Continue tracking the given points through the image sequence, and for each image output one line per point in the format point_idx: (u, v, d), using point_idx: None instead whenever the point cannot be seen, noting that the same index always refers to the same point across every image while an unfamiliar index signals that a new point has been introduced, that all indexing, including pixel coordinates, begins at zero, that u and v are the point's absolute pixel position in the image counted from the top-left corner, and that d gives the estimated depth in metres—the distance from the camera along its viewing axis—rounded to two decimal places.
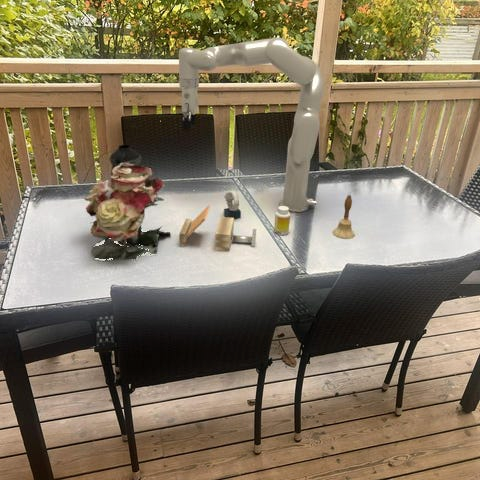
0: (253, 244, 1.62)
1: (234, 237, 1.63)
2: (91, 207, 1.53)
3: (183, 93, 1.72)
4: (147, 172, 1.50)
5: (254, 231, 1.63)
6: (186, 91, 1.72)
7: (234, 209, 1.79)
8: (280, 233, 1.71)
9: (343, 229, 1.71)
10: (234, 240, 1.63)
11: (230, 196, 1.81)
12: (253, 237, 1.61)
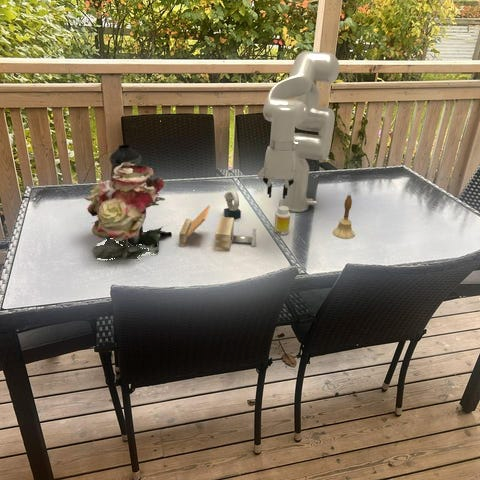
0: (253, 244, 1.62)
1: (234, 237, 1.63)
2: (92, 207, 1.53)
3: (294, 156, 1.46)
4: (148, 172, 1.51)
5: (254, 231, 1.63)
6: (295, 152, 1.47)
7: (234, 209, 1.79)
8: (280, 233, 1.71)
9: (343, 229, 1.71)
10: (234, 240, 1.63)
11: (230, 196, 1.81)
12: (253, 237, 1.61)
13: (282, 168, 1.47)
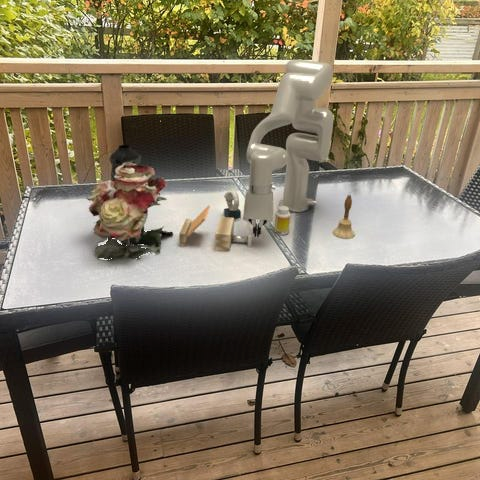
0: (249, 244, 1.62)
1: None
2: (94, 207, 1.53)
3: (272, 199, 1.54)
4: (150, 172, 1.51)
5: (250, 231, 1.63)
6: (272, 195, 1.55)
7: (234, 209, 1.79)
8: (280, 233, 1.71)
9: (343, 229, 1.71)
10: None
11: (230, 196, 1.81)
12: (249, 237, 1.61)
13: (261, 210, 1.55)
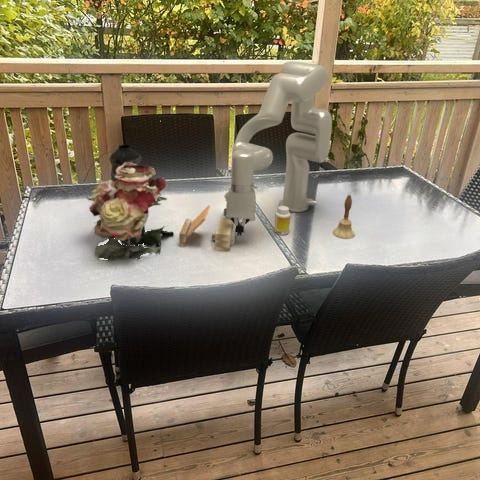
0: (232, 242, 1.63)
1: (213, 235, 1.64)
2: (94, 207, 1.53)
3: (254, 197, 1.54)
4: (150, 172, 1.51)
5: (233, 229, 1.63)
6: (254, 194, 1.55)
7: None
8: (280, 233, 1.71)
9: (343, 229, 1.71)
10: (213, 238, 1.64)
11: None
12: (232, 235, 1.61)
13: (243, 208, 1.56)
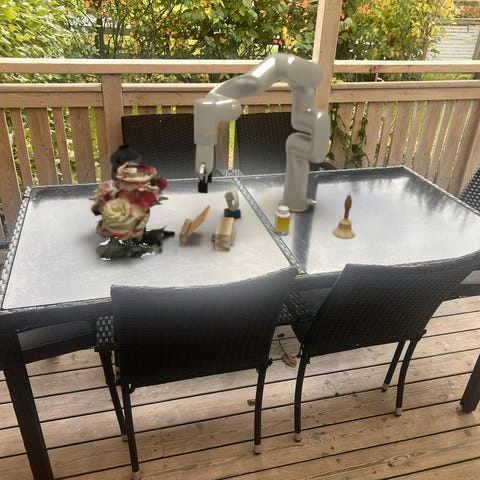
0: (232, 242, 1.63)
1: (213, 235, 1.64)
2: (96, 207, 1.53)
3: None
4: (152, 171, 1.51)
5: (233, 229, 1.63)
6: None
7: (234, 209, 1.79)
8: (280, 233, 1.71)
9: (343, 229, 1.71)
10: (213, 238, 1.64)
11: (230, 196, 1.81)
12: (232, 235, 1.61)
13: None
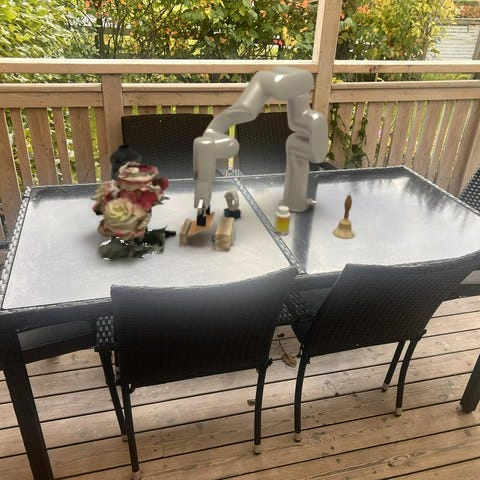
0: (232, 242, 1.63)
1: (213, 235, 1.64)
2: (97, 207, 1.53)
3: None
4: (153, 171, 1.51)
5: (233, 229, 1.63)
6: None
7: (234, 209, 1.79)
8: (280, 233, 1.71)
9: (343, 229, 1.71)
10: (213, 238, 1.64)
11: (230, 196, 1.81)
12: (232, 235, 1.61)
13: (211, 193, 1.58)
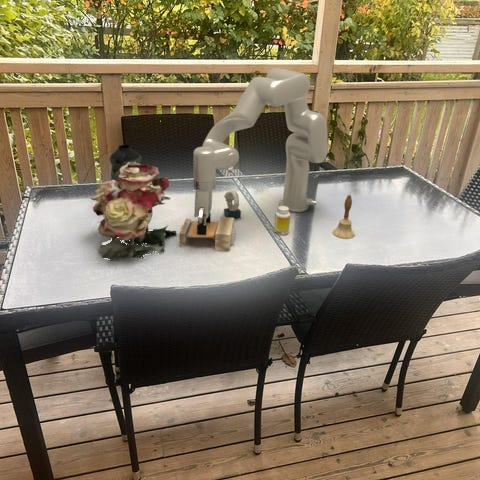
0: (232, 242, 1.63)
1: None
2: (98, 207, 1.53)
3: None
4: (154, 171, 1.51)
5: (233, 229, 1.63)
6: None
7: (234, 209, 1.79)
8: (280, 233, 1.71)
9: (343, 229, 1.71)
10: (213, 238, 1.64)
11: (230, 196, 1.81)
12: (232, 235, 1.61)
13: (211, 202, 1.59)
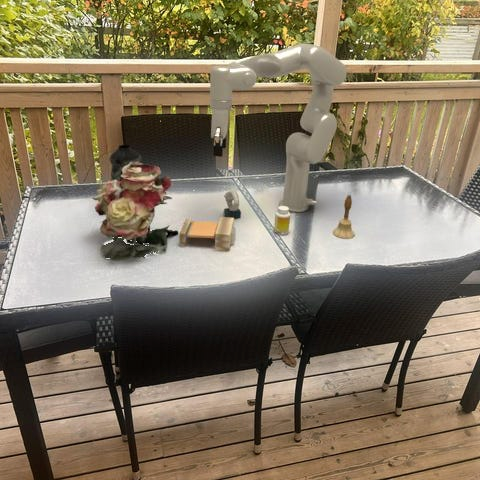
0: (232, 242, 1.63)
1: None
2: (100, 206, 1.53)
3: None
4: (156, 171, 1.52)
5: (233, 229, 1.63)
6: None
7: (234, 209, 1.79)
8: (280, 233, 1.71)
9: (343, 229, 1.71)
10: (213, 238, 1.64)
11: (230, 196, 1.81)
12: (232, 235, 1.61)
13: (227, 124, 1.62)
